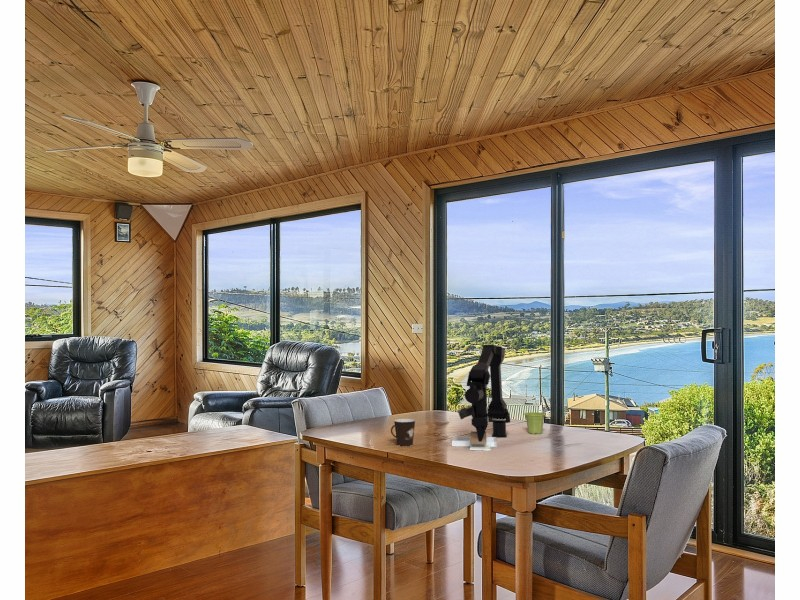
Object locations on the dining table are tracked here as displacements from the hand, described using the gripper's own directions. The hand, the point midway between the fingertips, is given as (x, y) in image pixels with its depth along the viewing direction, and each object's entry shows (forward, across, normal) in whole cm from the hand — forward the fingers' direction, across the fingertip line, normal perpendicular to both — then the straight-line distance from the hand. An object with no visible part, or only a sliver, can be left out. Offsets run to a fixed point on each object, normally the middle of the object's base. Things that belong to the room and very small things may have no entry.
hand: (480, 440), depth 243 cm
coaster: (+3, 0, 0) cm, 3 cm away
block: (+1, 0, -1) cm, 1 cm away
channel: (+3, -9, -3) cm, 10 cm away
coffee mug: (+4, -4, -32) cm, 33 cm away
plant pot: (+4, -37, +24) cm, 45 cm away
